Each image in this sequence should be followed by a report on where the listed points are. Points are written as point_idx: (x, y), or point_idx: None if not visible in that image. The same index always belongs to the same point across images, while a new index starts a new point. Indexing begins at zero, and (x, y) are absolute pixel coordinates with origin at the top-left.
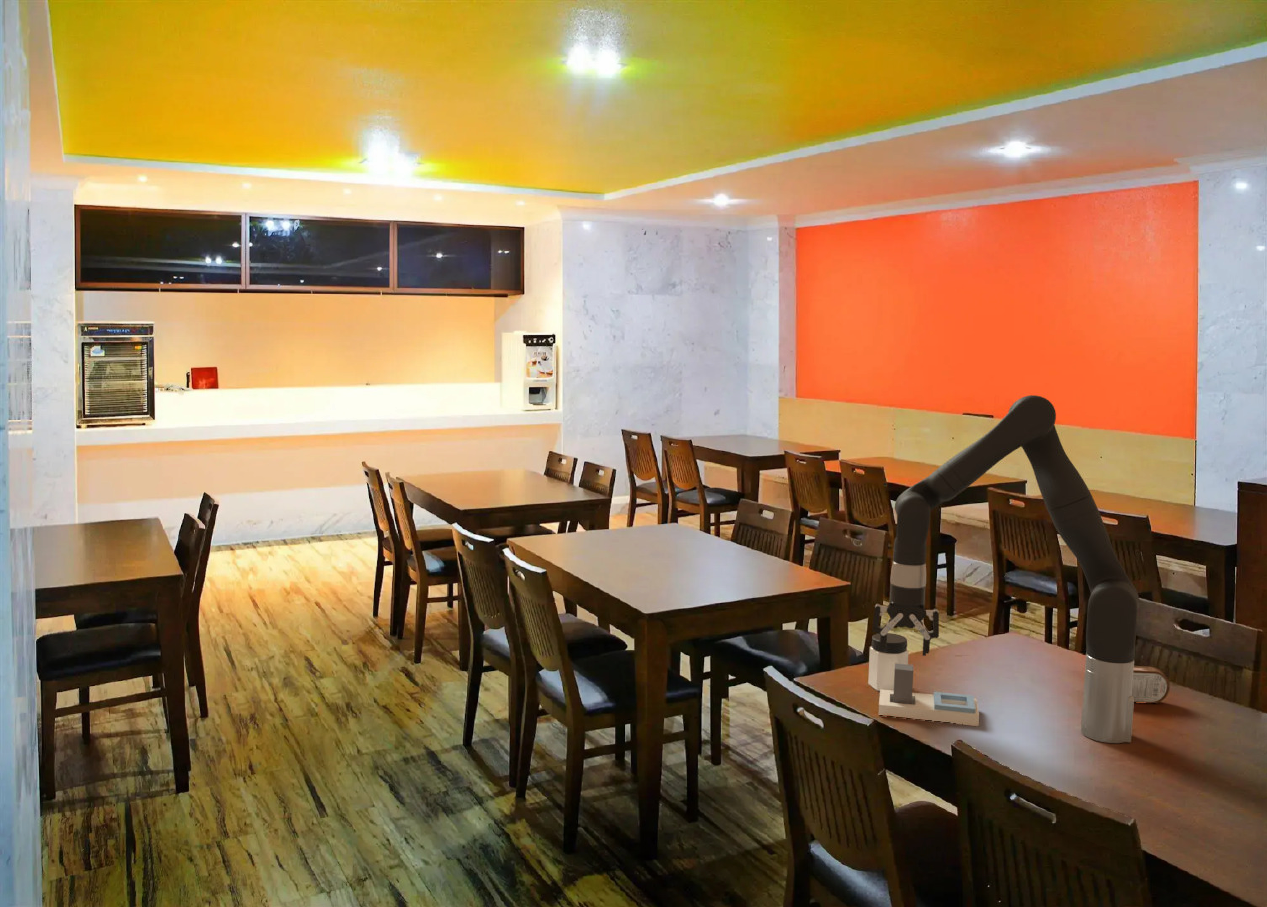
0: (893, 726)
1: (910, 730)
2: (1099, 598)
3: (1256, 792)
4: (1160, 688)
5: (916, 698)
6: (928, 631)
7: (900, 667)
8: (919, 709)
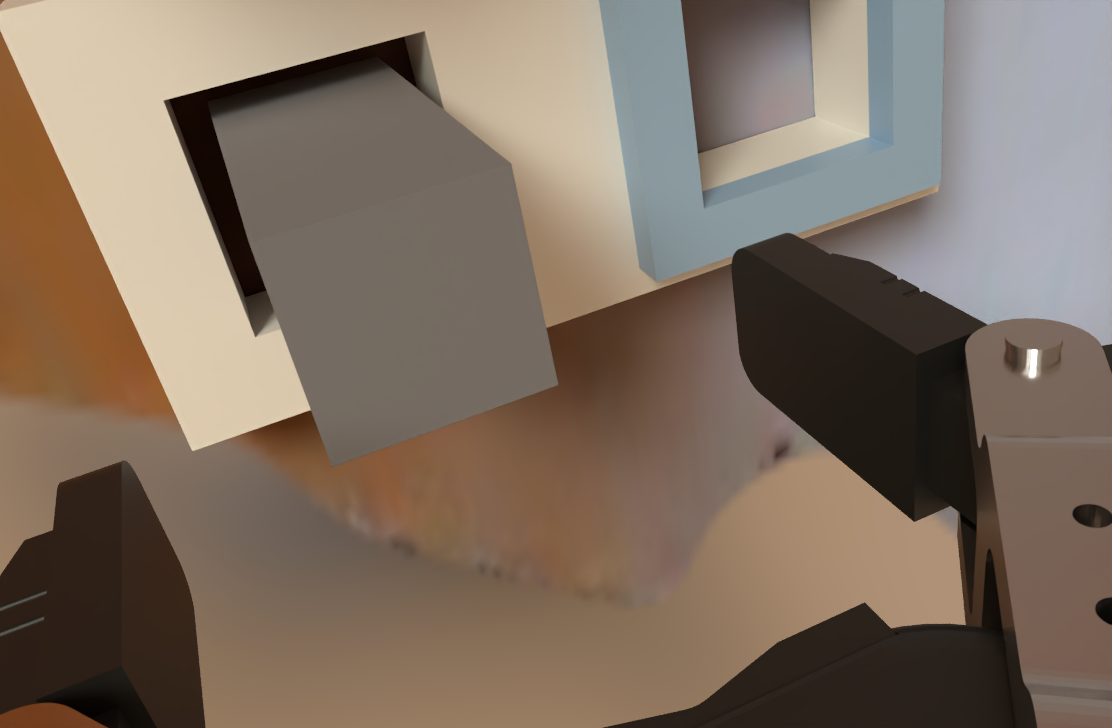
0: (369, 515)
1: (491, 504)
2: None
3: None
4: None
5: (452, 93)
6: (1108, 385)
7: (381, 367)
8: None
